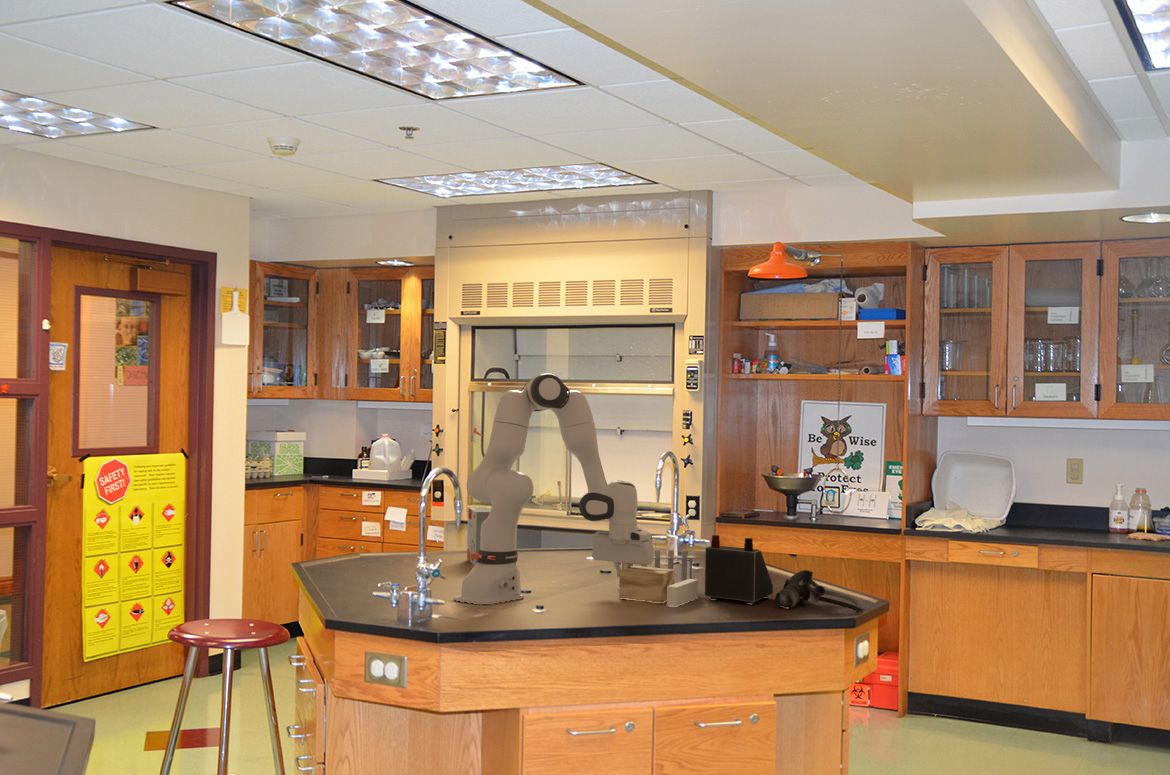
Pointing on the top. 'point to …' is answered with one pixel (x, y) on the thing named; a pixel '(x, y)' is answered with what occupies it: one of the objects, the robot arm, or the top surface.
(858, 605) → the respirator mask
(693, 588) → the board
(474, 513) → the hard drive box
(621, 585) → the oak block
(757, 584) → the voltmeter
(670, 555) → the test tube rack
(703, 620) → the top surface
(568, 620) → the top surface
